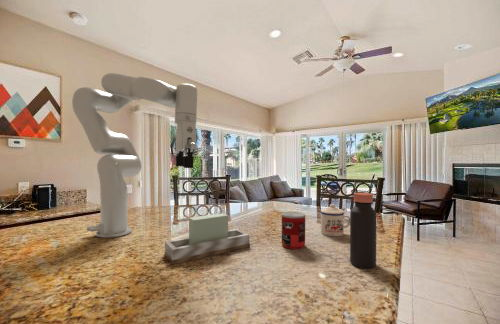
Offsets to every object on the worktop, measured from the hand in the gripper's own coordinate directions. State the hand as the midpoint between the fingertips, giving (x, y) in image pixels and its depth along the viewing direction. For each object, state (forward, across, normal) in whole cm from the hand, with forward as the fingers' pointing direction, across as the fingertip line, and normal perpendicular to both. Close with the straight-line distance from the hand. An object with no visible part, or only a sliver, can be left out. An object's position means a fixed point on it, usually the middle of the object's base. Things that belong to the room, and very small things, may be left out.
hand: (184, 167), depth 90 cm
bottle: (+24, -48, -37) cm, 65 cm away
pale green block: (+25, -14, -5) cm, 29 cm away
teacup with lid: (+25, -24, -55) cm, 65 cm away
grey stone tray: (+26, -14, -5) cm, 30 cm away
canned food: (+25, -26, -31) cm, 48 cm away
